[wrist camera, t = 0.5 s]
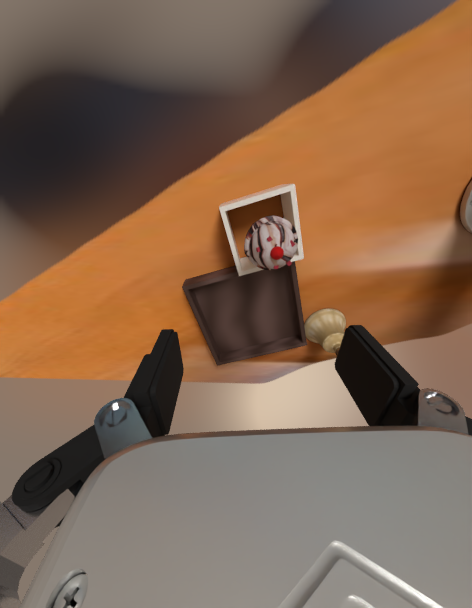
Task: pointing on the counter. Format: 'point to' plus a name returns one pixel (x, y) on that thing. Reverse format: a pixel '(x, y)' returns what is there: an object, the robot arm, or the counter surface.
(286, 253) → the ice cream cone
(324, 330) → the hand bell
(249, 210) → the counter surface
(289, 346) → the tray
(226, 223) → the frame
